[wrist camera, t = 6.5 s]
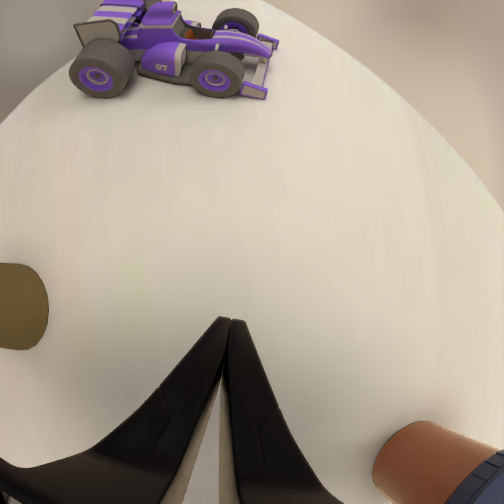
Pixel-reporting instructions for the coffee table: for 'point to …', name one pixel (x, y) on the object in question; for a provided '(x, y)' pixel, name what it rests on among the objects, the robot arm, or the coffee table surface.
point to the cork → (21, 307)
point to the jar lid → (483, 483)
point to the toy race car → (168, 49)
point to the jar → (426, 463)
